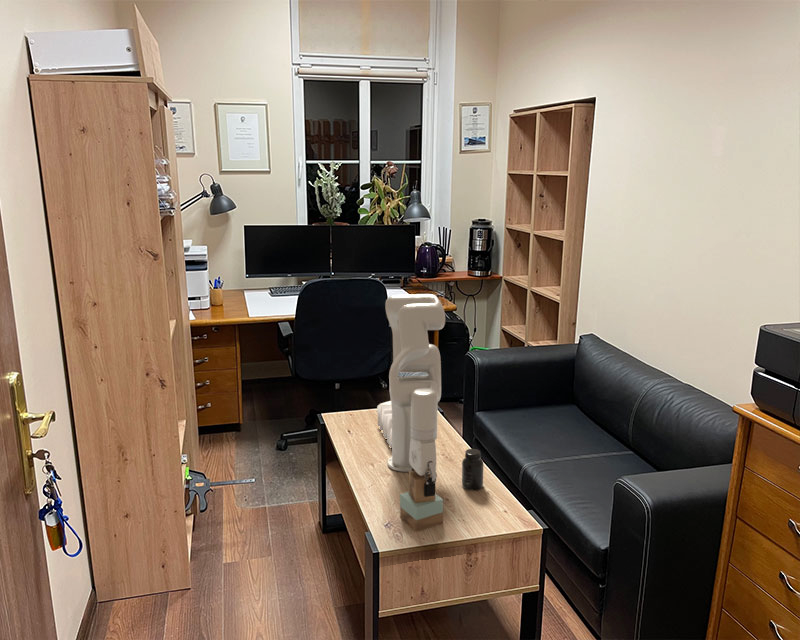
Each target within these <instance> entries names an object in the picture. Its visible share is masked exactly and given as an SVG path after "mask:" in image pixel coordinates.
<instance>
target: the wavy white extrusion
mask: <svg viewBox="0 0 800 640" xmlns="http://www.w3.org/2000/svg"><path fill="white" fill-rule="evenodd" d="M376 409H377V427H378V426H380V429H379V431H380V430H383V433H382V436H383V435H384V437H383V439H384V438H387V440H386V444H387V443H388V444H389V446H390V447H391V448H392V405H391V400H389V401H385V402H382V403H381V402H380V403H379V404H378V405H377V407H376ZM388 444H387V445H388ZM389 446H388V447H389ZM391 448H390V449H391Z"/></svg>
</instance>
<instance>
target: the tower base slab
mask: <svg viewBox="0 0 800 640" xmlns="http://www.w3.org/2000/svg"><path fill="white" fill-rule="evenodd" d="M399 514H400V515H399V517H400V519H402V520H403V521H404V523H406V524H407V525H408V526H409V527H410V528H411V529H413V531H415V532H420V531H424V530H426V529H430V528H432V527H436V526H439V525H442V524H444V511H443V512H442V513H439V514H435V515H432V516H429V517H426V518H423V519H419V520H415V519H414V518H413V517H412V516H411V515H409V514H408V513H407V512H406V511H405V510H403V509H402V508H401V507H400V506H399Z"/></svg>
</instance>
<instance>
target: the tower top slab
mask: <svg viewBox="0 0 800 640" xmlns="http://www.w3.org/2000/svg"><path fill="white" fill-rule="evenodd" d="M400 507H401V508H402V509H403V510H405V511H406V512H407V513H408V514H409V515H411V516H412V517H413V518H414V519H415V520H419V519H423V518H426V517H429V516H432V515H435V514H439V513H442V512H443V513H444V498H442V497H441V496H439V495H438V494H437V493H435V500H434V501H427V502H421V503H415V502H414V501H413V499H412V498H411V496H410V495H409V491H406V492H403V493H400V494H399V508H400Z"/></svg>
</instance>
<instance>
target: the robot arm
mask: <svg viewBox="0 0 800 640" xmlns="http://www.w3.org/2000/svg"><path fill="white" fill-rule="evenodd" d="M384 304H385V313H386V318H387V320H388V322H389V325H390V328H391V332H392V356H393V357H392V364H391V366H390V369H389V373H388V379H389V387H388V388H389V397H390V401H391V405H392V449H391V457H389V458H388V459H387V466H388V467H389V468H390V469H391V470H394V471H397V472H400V473H409V471H416V472H417V473H418V474H419V475H420V476H422V475H424V479H425V483H424V496H425V497H429V496H434V495H435V494H436V488H435V483H436V484H437V475H438V474H437V446H436V440H437V438H438V405H439V402H440V400H441V397H442V364H441V363H442V361H441V354H440V350H439V348H438V346H437V345H435V344H432V343H430V342H429V333H428V331H440V330H442V329H443V328H444V327H445V325H446V313H445V308H444V306H443V304H442V302H441V300H440V299H439V298H438V296H437V295H436V294H430V293H428V294H427V293H425V294H415V293H414V294H411V293H410V294H396V295H391V296H389V297H388V298H387V299H386V300H385V303H384ZM399 373H403V374H404V373H405V374H407V373H408V374H409V373H410V374H411V373H425V374H426V375H418V376H417V375H413V376H412V375H411V376H410V375H409V376H408V375H407V376H399ZM426 471H430V472H427V473H426ZM427 475H431V477H429V479H428V478H427Z"/></svg>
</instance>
